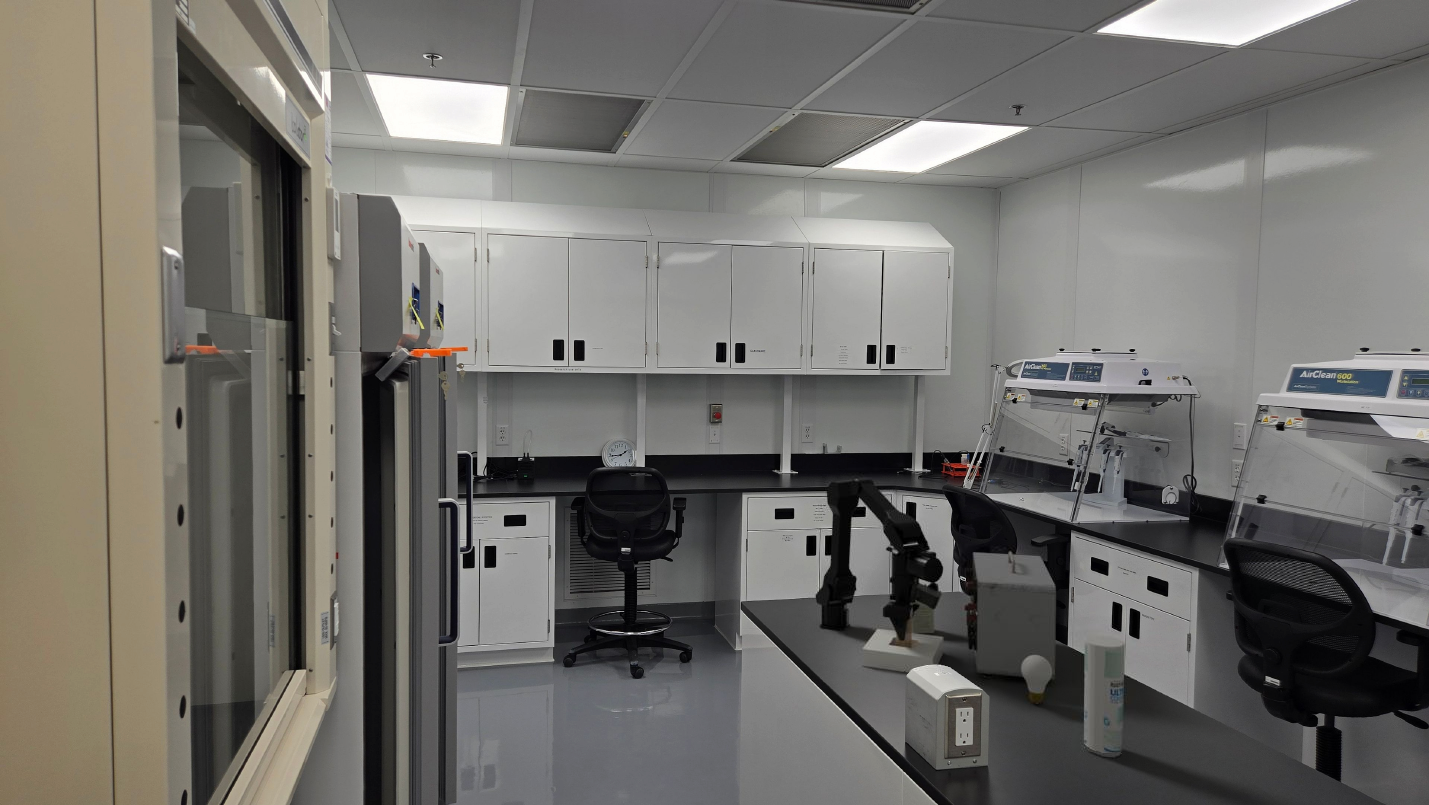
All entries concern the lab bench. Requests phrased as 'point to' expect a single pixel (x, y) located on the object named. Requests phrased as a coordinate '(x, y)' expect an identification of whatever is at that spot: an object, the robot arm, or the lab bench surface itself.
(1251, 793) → the lab bench surface
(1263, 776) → the lab bench surface
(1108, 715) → the spray can
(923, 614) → the skincare box
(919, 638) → the socket block
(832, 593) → the robot arm
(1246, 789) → the lab bench surface
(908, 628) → the wooden peg
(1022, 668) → the light bulb
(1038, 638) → the vintage electronic device
